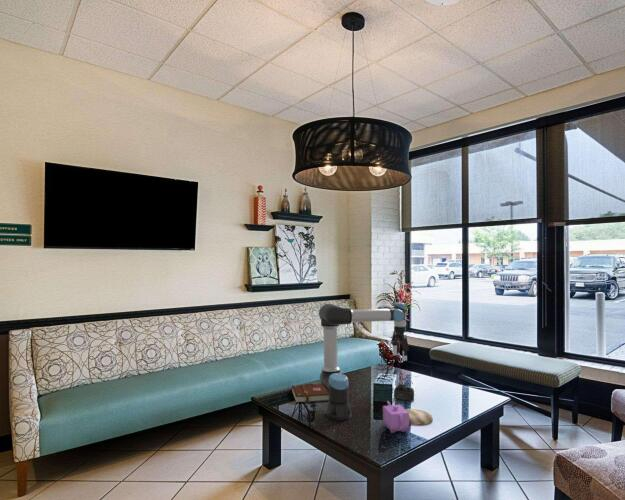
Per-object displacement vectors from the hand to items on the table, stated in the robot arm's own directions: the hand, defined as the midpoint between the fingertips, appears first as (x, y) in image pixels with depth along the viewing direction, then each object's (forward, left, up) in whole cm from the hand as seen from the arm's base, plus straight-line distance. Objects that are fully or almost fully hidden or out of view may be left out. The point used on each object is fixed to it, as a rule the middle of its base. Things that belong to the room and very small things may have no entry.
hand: (399, 357), depth 255 cm
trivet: (-6, -28, -28) cm, 40 cm away
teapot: (-24, -36, -28) cm, 52 cm away
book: (-50, +24, -28) cm, 62 cm away
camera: (+4, +1, -28) cm, 28 cm away
